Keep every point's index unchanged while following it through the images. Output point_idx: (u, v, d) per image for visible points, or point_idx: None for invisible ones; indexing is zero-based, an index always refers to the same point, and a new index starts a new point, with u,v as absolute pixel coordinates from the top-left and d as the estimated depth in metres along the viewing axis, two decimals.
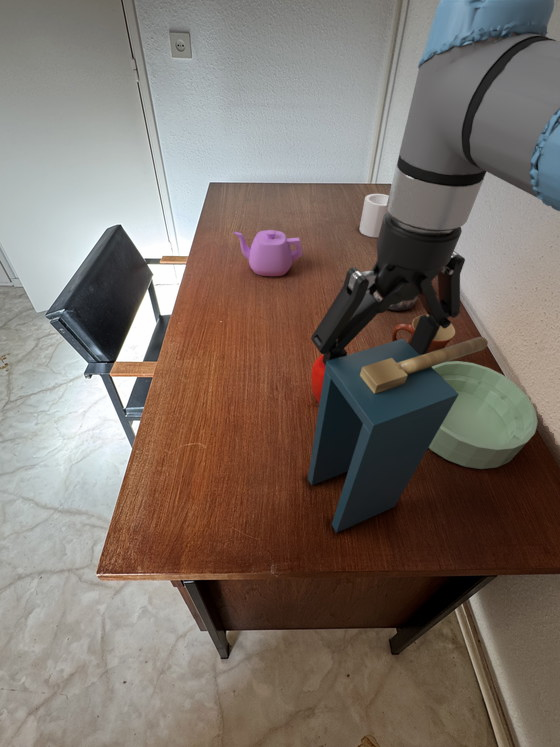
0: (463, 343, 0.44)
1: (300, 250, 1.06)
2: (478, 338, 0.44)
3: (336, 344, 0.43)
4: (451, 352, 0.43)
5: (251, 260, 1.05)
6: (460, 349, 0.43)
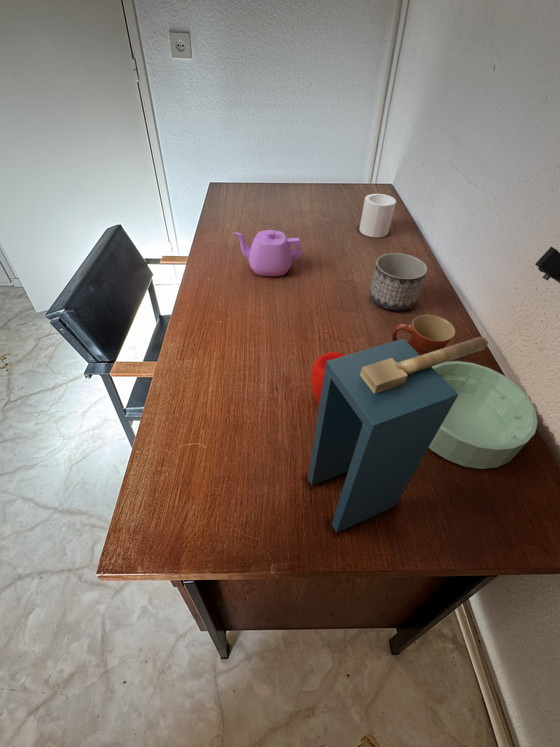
0: (463, 343, 0.44)
1: (300, 250, 1.06)
2: (478, 338, 0.44)
3: None
4: (451, 352, 0.43)
5: (251, 260, 1.05)
6: (460, 349, 0.43)
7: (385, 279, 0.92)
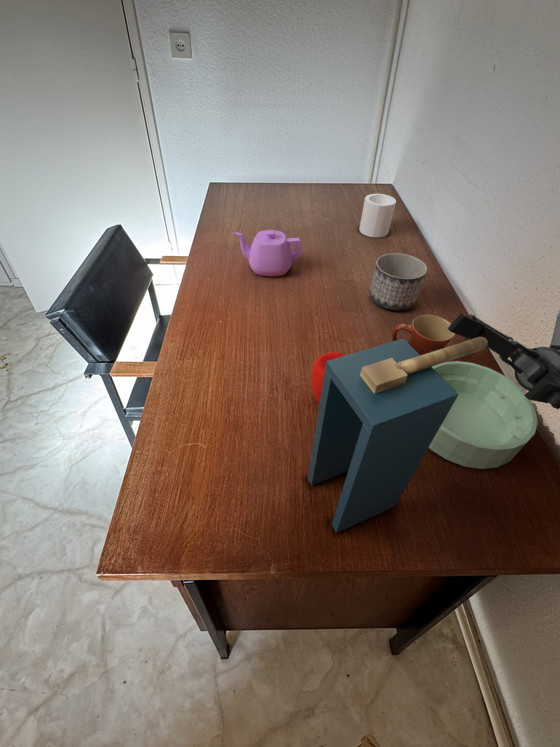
0: (463, 343, 0.44)
1: (300, 250, 1.06)
2: (478, 338, 0.44)
3: None
4: (451, 352, 0.43)
5: (251, 260, 1.05)
6: (460, 349, 0.43)
7: (385, 279, 0.92)
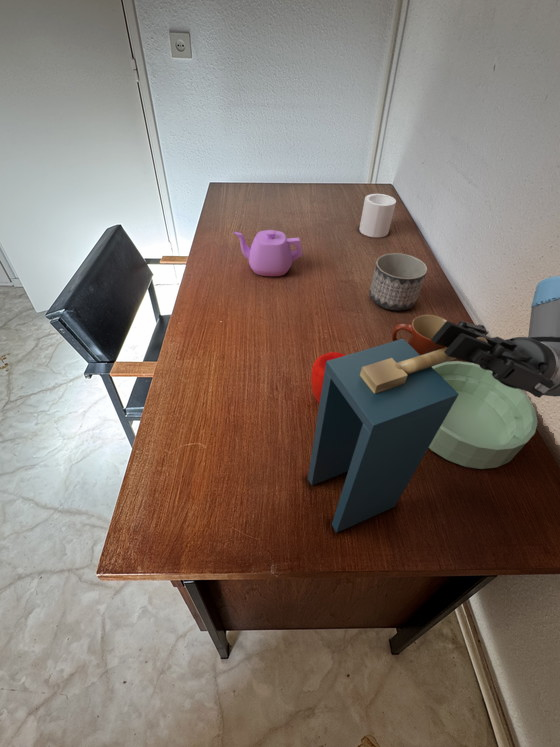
0: None
1: (300, 250, 1.06)
2: (478, 338, 0.44)
3: None
4: None
5: (251, 260, 1.05)
6: None
7: (385, 279, 0.92)
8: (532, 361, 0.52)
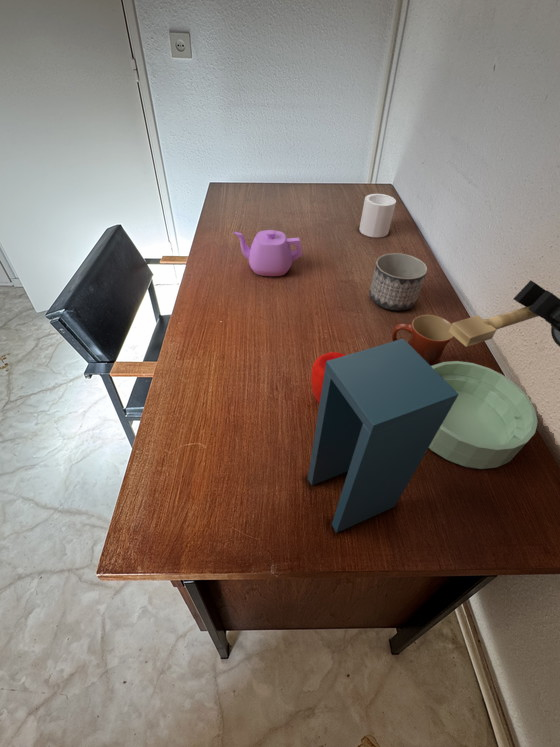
0: None
1: (300, 250, 1.06)
2: None
3: None
4: None
5: (251, 260, 1.05)
6: None
7: (385, 279, 0.92)
8: None
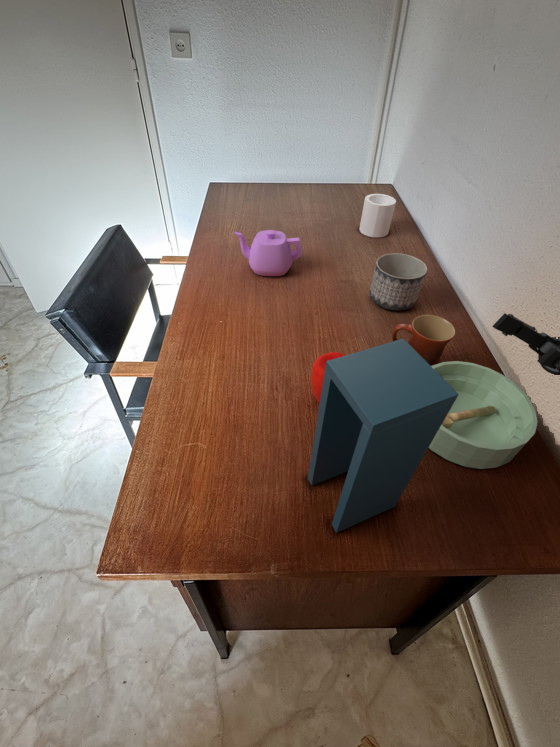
0: (482, 408, 0.71)
1: (300, 250, 1.06)
2: (490, 406, 0.72)
3: None
4: (476, 412, 0.70)
5: (251, 260, 1.05)
6: (481, 411, 0.70)
7: (385, 279, 0.92)
8: None
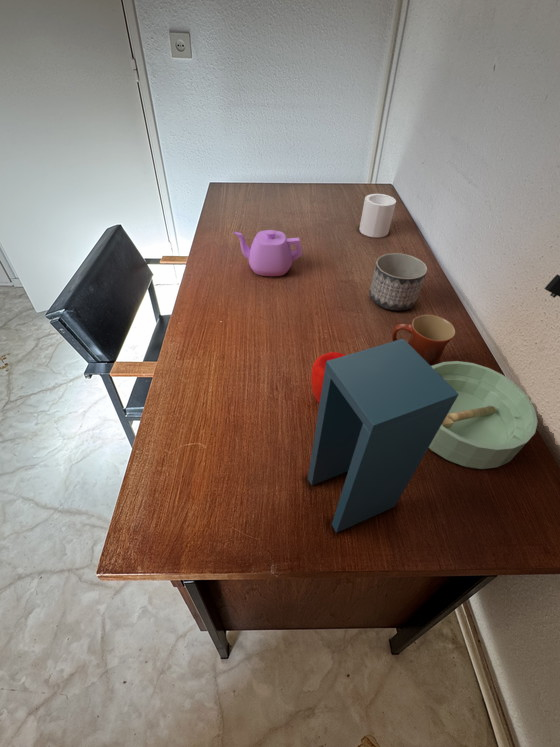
0: (482, 408, 0.71)
1: (300, 250, 1.06)
2: (490, 406, 0.72)
3: None
4: (476, 412, 0.70)
5: (251, 260, 1.05)
6: (481, 411, 0.70)
7: (385, 279, 0.92)
8: None
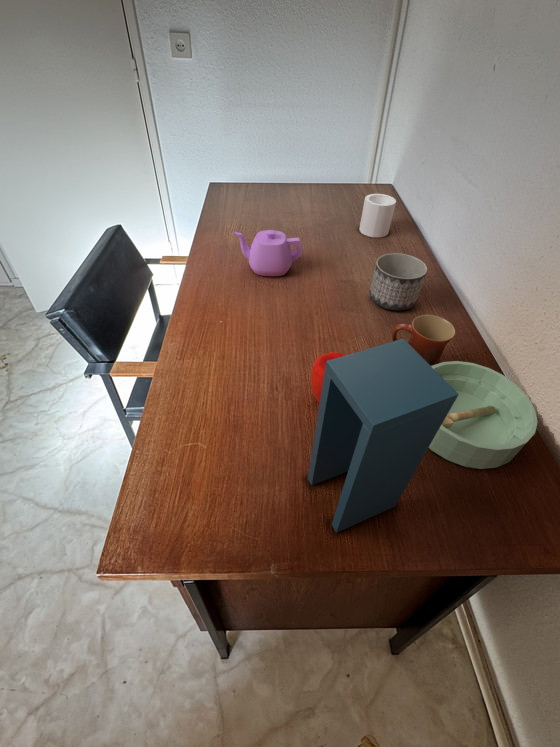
0: (482, 408, 0.71)
1: (300, 250, 1.06)
2: (490, 406, 0.72)
3: None
4: (476, 412, 0.70)
5: (251, 260, 1.05)
6: (481, 411, 0.70)
7: (385, 279, 0.92)
8: None
